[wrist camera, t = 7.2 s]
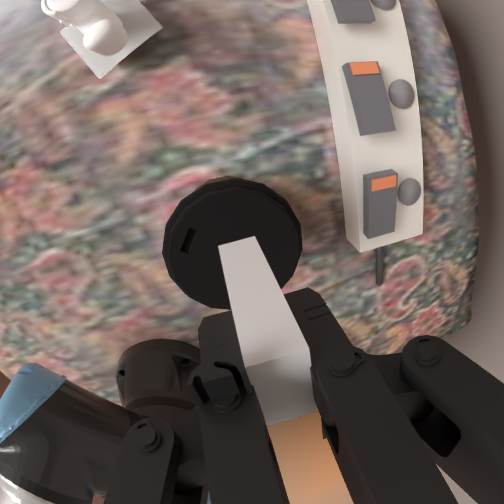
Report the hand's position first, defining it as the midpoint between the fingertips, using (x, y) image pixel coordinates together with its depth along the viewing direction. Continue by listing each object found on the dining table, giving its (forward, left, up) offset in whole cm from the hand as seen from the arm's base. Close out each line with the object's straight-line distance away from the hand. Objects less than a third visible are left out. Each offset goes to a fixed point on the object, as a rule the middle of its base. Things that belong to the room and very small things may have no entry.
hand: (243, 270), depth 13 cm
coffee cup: (-4, 0, -22) cm, 22 cm away
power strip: (0, -18, -21) cm, 28 cm away
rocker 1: (+5, -15, -16) cm, 22 cm away
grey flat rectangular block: (+16, -15, -16) cm, 27 cm away
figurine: (+17, +6, -22) cm, 28 cm away
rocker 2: (-6, -15, -16) cm, 23 cm away
